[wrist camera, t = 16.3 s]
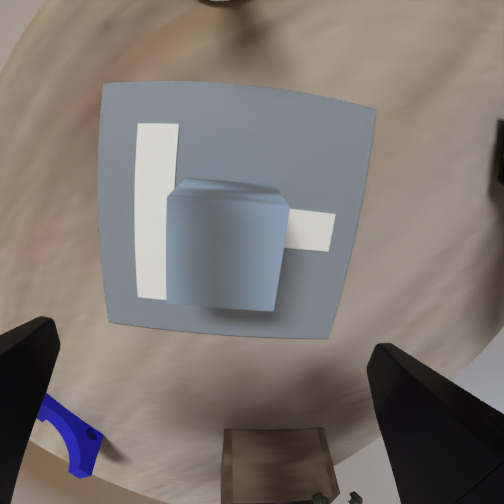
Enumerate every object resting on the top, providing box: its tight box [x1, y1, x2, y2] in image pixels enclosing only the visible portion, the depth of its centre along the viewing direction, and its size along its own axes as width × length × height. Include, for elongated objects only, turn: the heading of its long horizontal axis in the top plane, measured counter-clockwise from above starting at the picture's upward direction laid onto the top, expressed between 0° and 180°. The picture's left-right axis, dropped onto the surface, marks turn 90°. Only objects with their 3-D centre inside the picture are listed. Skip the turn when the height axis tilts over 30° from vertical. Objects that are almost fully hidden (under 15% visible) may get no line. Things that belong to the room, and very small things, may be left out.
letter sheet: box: [98, 81, 376, 339], centre depth 18 cm, size 16×16×1 cm
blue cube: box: [166, 178, 290, 312], centre depth 15 cm, size 5×5×5 cm
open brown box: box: [221, 428, 340, 504], centre depth 24 cm, size 10×10×8 cm
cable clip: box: [37, 393, 103, 478], centre depth 22 cm, size 12×4×6 cm, turn 39°
